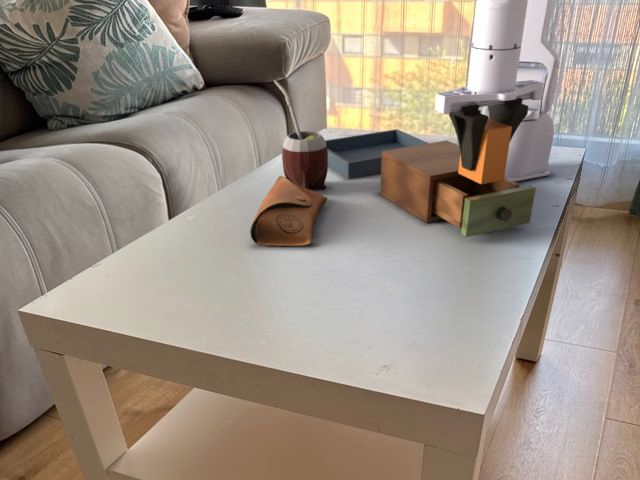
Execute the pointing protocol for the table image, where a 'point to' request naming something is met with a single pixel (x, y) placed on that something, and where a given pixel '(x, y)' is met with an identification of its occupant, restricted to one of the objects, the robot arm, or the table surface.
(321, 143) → the mate gourd
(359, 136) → the tray
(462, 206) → the drawer
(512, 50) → the robot arm
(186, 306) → the table surface
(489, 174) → the orange wooden block
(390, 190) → the cabinet
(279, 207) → the sunglasses case
